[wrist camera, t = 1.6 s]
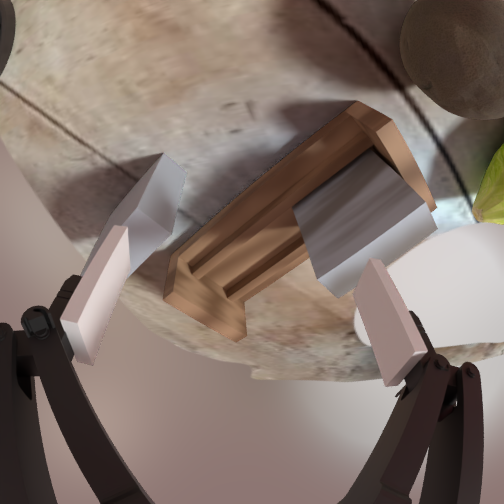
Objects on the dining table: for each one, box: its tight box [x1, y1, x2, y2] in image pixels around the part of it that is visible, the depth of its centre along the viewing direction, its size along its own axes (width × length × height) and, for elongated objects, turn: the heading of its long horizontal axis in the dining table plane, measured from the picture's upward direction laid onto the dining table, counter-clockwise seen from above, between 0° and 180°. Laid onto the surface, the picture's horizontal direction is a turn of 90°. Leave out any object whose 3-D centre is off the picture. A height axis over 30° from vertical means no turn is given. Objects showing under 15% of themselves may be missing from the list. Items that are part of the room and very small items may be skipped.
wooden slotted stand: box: [163, 101, 438, 342], centre depth 32 cm, size 12×30×14 cm, turn 132°
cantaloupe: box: [399, 0, 504, 120], centre depth 18 cm, size 14×14×15 cm
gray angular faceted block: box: [80, 153, 187, 279], centre depth 29 cm, size 4×11×12 cm, turn 132°
